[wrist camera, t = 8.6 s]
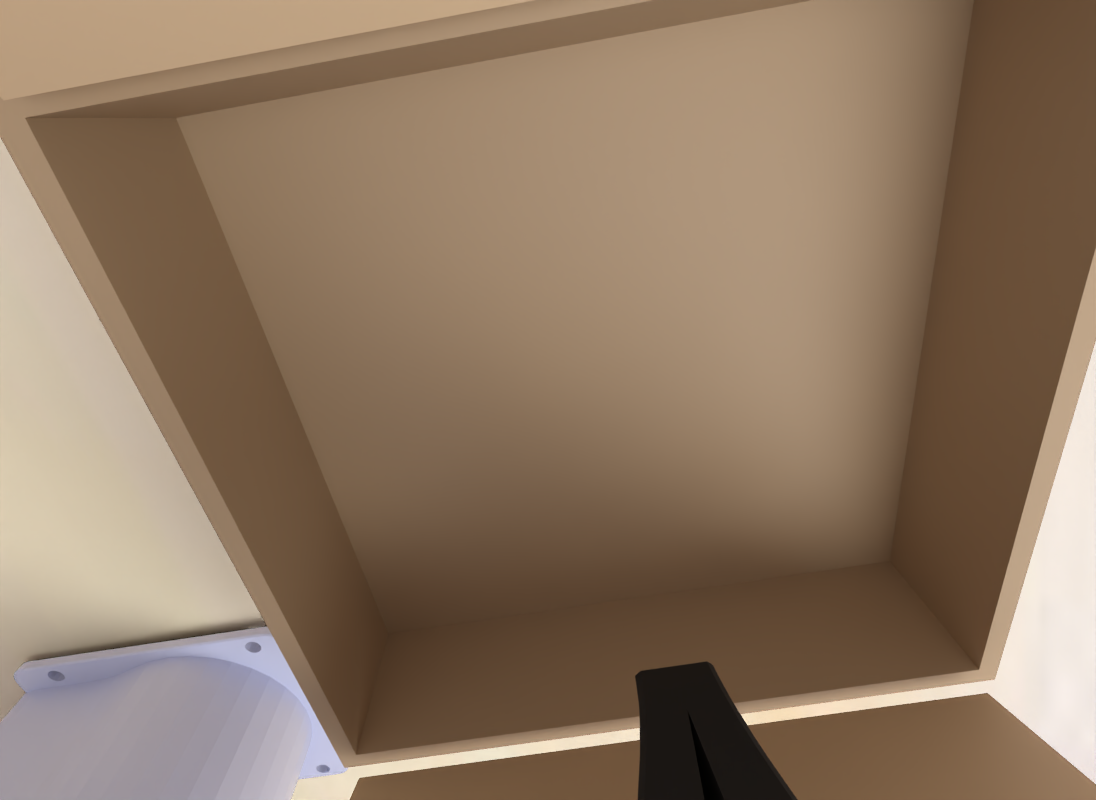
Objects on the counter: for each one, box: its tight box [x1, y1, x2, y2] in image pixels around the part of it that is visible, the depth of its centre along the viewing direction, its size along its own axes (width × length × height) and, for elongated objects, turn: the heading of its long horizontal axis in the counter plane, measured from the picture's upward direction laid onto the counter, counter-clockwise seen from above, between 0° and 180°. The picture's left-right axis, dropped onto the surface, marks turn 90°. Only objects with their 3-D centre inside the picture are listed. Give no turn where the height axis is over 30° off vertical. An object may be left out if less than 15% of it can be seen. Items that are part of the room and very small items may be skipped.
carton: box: [0, 0, 1096, 768], centre depth 14 cm, size 18×17×4 cm
